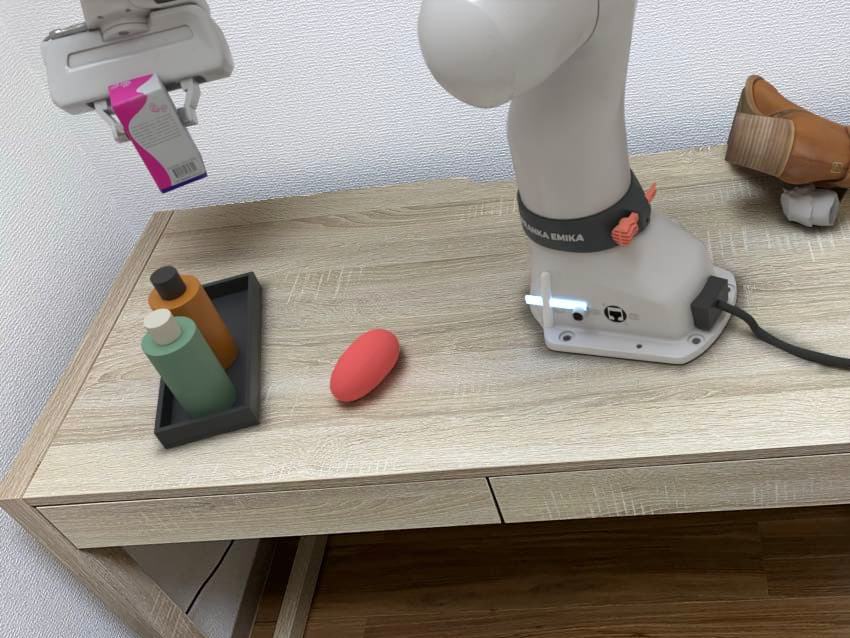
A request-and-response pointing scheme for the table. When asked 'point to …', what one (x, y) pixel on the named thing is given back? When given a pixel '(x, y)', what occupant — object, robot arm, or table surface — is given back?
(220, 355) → the amber bottle
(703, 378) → the table surface
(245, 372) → the tray
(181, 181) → the supplement box
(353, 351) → the stress ball
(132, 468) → the table surface
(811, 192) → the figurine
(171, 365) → the sage bottle
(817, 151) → the boot
